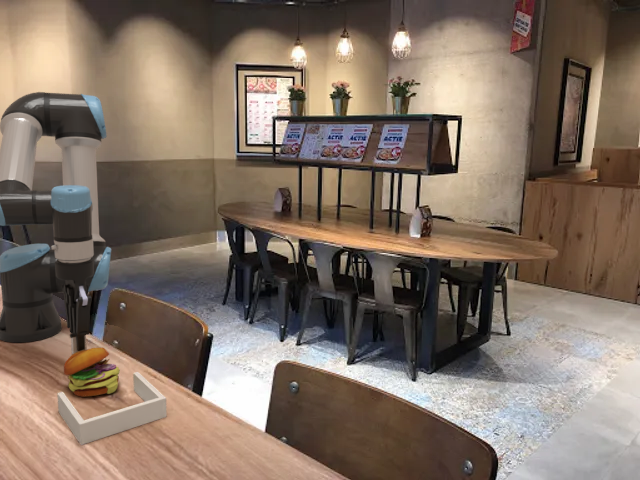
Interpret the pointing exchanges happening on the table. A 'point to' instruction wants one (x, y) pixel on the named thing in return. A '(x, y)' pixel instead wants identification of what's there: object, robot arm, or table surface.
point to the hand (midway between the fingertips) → (79, 361)
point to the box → (115, 414)
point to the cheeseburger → (91, 373)
